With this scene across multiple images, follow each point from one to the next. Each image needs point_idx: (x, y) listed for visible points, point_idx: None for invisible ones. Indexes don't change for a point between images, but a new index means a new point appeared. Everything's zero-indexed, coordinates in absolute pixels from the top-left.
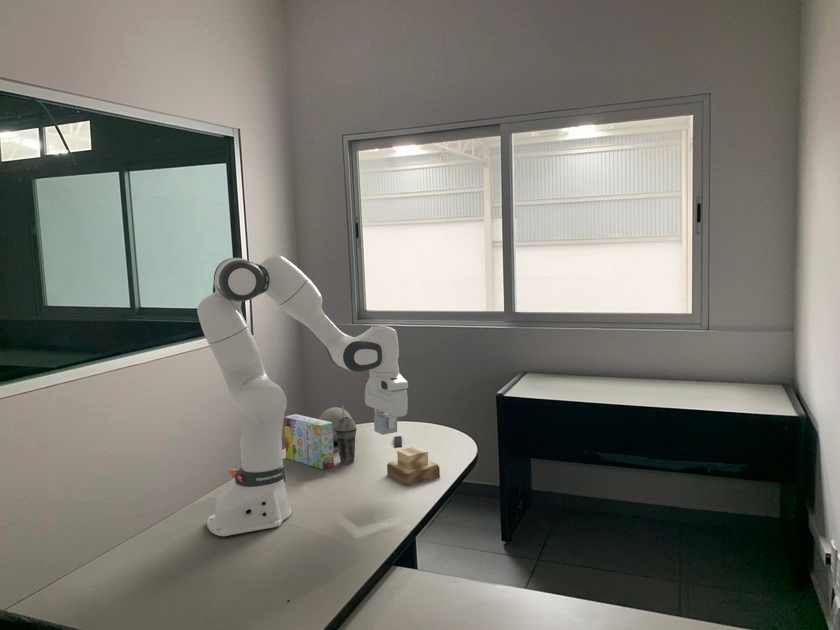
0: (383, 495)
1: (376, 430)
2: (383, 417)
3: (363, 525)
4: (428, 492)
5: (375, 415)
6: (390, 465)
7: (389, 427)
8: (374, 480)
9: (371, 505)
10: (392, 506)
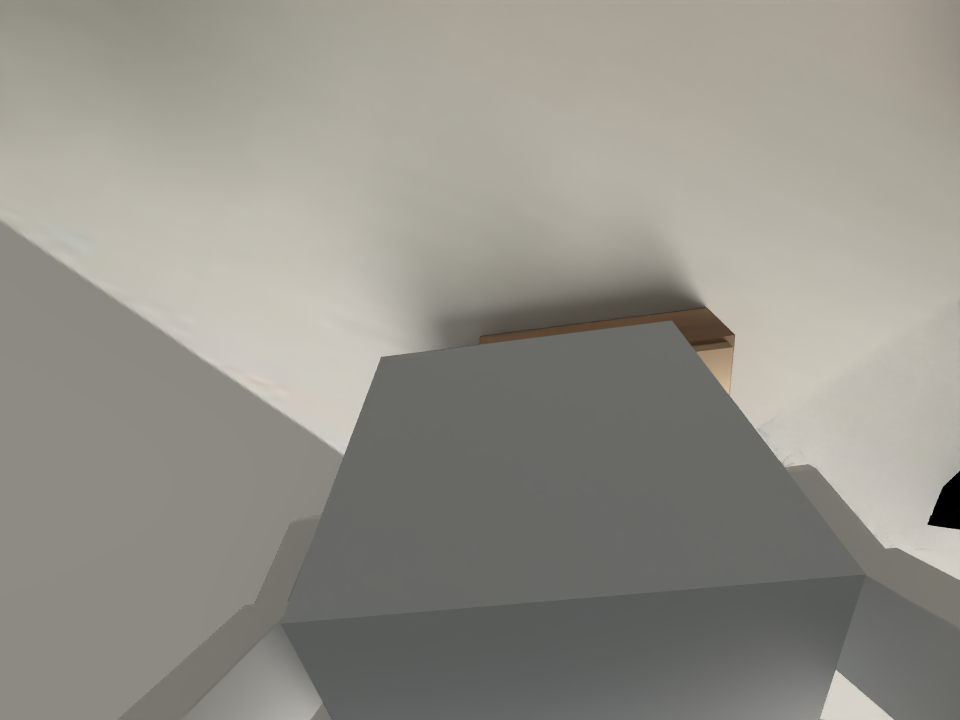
0: (393, 160)
1: (596, 342)
2: (318, 659)
3: None
4: (337, 390)
5: (744, 574)
6: (696, 345)
7: (289, 527)
8: (671, 202)
9: (253, 16)
10: (199, 145)
